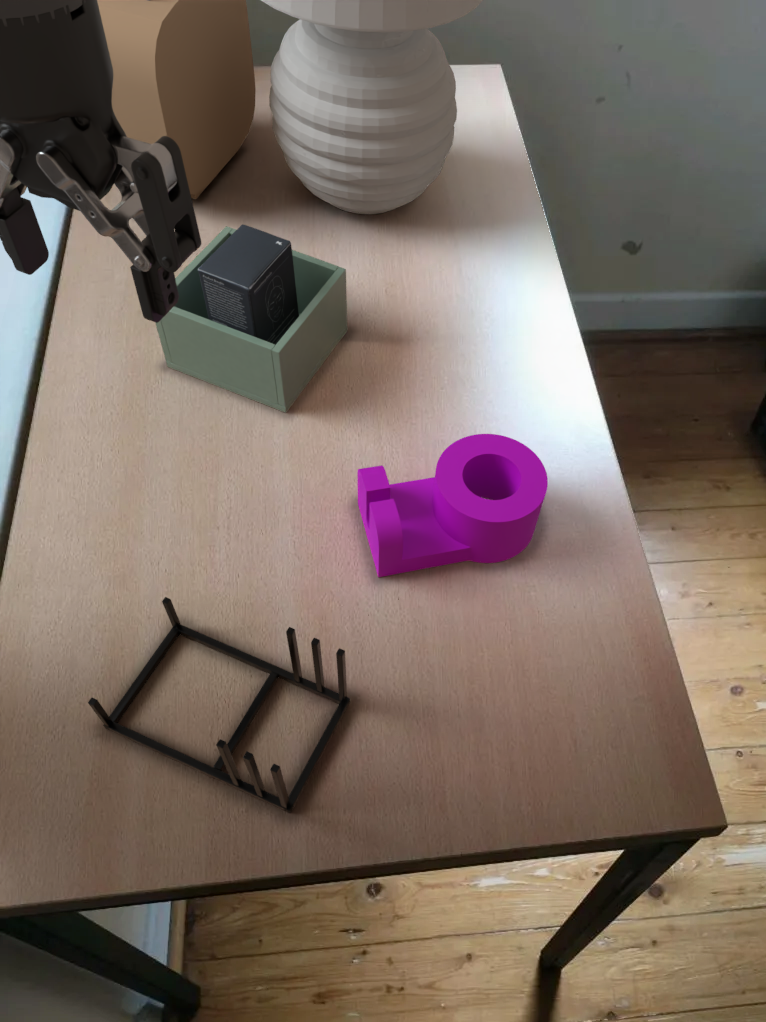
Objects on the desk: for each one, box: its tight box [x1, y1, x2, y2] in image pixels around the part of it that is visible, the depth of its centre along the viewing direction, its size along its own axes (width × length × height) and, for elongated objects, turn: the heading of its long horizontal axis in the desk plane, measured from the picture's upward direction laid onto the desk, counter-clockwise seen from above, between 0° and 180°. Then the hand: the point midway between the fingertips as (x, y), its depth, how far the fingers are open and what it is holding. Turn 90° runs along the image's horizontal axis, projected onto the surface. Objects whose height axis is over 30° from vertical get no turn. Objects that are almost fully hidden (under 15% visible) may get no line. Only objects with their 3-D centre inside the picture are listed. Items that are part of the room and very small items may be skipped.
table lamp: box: [260, 0, 484, 215], centre depth 83 cm, size 25×25×40 cm
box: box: [198, 223, 299, 345], centre depth 79 cm, size 8×6×11 cm
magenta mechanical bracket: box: [357, 433, 549, 578], centre depth 72 cm, size 16×10×6 cm, turn 106°
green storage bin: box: [154, 226, 348, 414], centre depth 81 cm, size 14×14×8 cm
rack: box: [87, 596, 351, 814], centre depth 60 cm, size 16×10×9 cm, turn 67°
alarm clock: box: [97, 0, 257, 200], centre depth 90 cm, size 21×10×22 cm, turn 162°
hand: (97, 289), depth 48 cm, fingers open, 8 cm apart
